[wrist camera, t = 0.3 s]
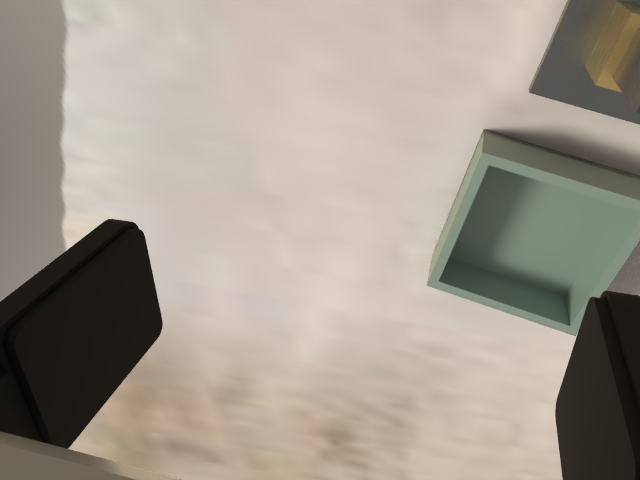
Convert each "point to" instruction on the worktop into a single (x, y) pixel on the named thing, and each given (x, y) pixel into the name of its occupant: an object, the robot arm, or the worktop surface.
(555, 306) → the bin
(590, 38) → the ball stud
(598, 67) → the strut
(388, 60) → the worktop surface
